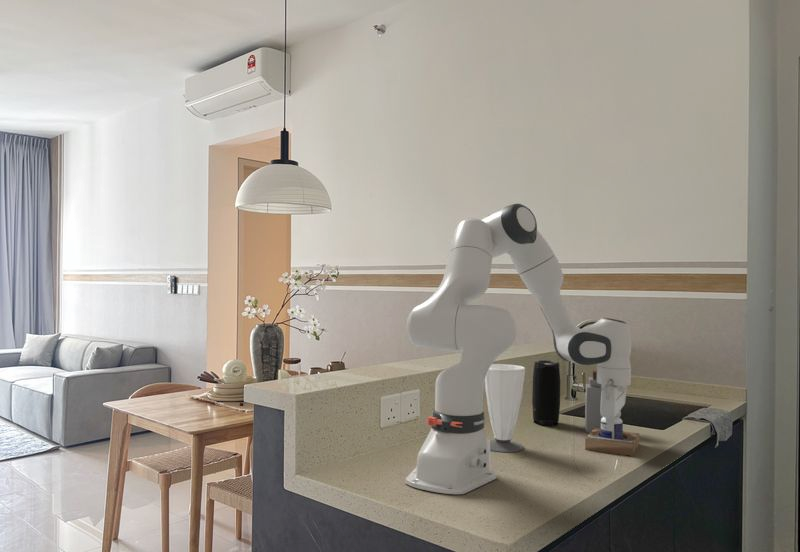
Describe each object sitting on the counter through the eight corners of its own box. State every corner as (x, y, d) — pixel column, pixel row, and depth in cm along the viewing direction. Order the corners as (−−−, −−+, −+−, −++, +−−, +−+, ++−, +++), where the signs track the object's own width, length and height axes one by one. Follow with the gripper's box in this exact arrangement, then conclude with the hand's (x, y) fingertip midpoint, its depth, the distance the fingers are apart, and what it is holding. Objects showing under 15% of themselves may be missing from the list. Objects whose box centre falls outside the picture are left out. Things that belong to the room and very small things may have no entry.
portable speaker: (535, 426, 187) (535, 363, 187) (529, 419, 196) (530, 359, 196) (562, 427, 186) (563, 364, 187) (556, 420, 196) (556, 360, 196)
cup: (509, 439, 170) (510, 363, 170) (533, 450, 160) (534, 368, 160) (473, 443, 166) (474, 364, 166) (495, 454, 155) (497, 370, 155)
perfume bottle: (586, 432, 180) (587, 372, 181) (585, 427, 187) (585, 369, 187) (610, 434, 179) (610, 373, 179) (607, 428, 185) (608, 370, 186)
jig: (632, 456, 156) (632, 443, 156) (585, 449, 161) (585, 436, 161) (639, 444, 168) (639, 431, 168) (594, 438, 174) (594, 426, 174)
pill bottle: (619, 444, 167) (620, 408, 168) (624, 449, 162) (625, 412, 162) (598, 443, 168) (599, 407, 168) (602, 448, 162) (603, 411, 163)
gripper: (620, 383, 154) (619, 437, 154) (630, 373, 172) (629, 422, 172) (594, 381, 157) (594, 434, 157) (607, 371, 175) (606, 419, 175)
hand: (612, 427), depth 165 cm, fingers open, 6 cm apart
